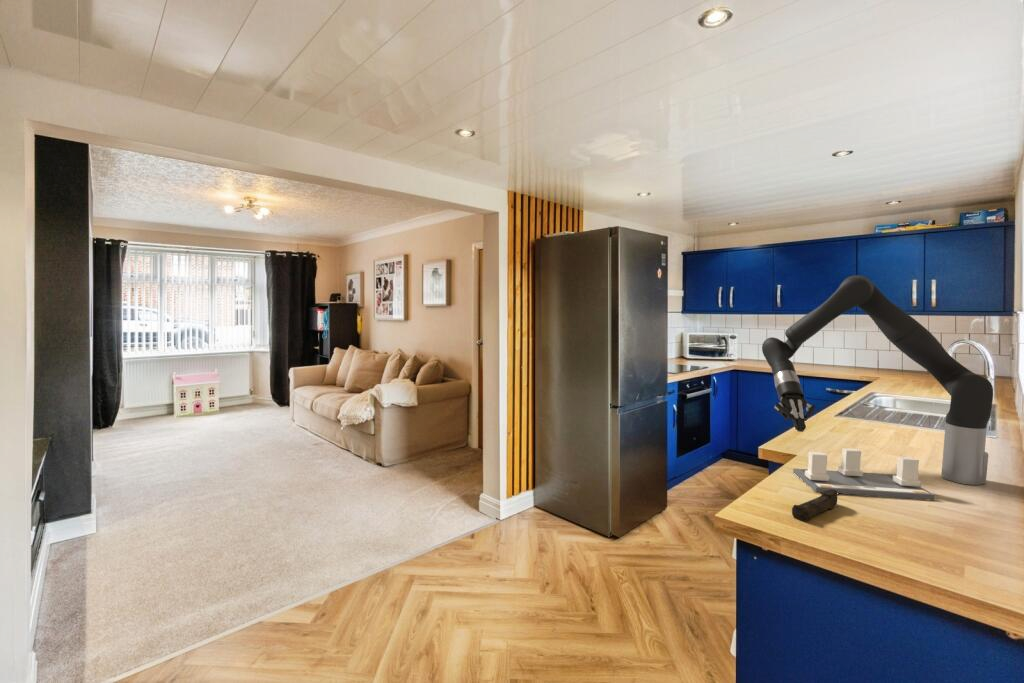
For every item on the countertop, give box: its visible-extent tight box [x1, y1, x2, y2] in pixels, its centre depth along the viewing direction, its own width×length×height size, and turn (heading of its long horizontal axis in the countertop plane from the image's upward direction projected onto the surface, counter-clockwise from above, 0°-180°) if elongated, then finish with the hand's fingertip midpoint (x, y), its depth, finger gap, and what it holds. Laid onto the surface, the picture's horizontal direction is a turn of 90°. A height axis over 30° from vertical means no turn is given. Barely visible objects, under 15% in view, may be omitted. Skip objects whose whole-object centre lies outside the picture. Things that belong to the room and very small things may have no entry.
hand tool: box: [791, 489, 838, 522], centre depth 125 cm, size 19×4×5 cm, turn 120°
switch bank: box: [792, 468, 935, 501], centre depth 143 cm, size 30×16×2 cm, turn 80°
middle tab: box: [837, 447, 864, 476], centre depth 148 cm, size 5×4×8 cm
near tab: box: [893, 456, 922, 487], centre depth 140 cm, size 5×4×8 cm
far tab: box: [805, 451, 829, 481], centre depth 144 cm, size 5×4×8 cm
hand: (801, 430), depth 156 cm, fingers closed
